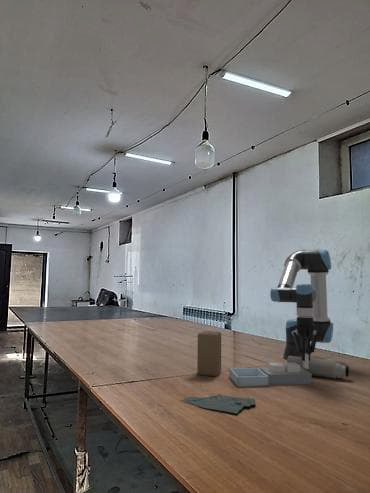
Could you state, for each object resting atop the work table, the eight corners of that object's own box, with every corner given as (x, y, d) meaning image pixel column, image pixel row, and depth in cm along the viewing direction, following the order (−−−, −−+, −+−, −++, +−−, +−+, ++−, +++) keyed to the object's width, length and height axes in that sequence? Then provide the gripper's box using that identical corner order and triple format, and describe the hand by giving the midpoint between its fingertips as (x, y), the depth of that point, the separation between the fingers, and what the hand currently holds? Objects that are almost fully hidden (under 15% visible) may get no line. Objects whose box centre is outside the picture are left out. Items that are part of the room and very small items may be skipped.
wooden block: (221, 372, 184) (221, 331, 186) (216, 377, 175) (216, 334, 177) (202, 370, 187) (202, 330, 189) (196, 375, 178) (197, 333, 180)
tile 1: (280, 369, 173) (280, 362, 173) (285, 372, 167) (285, 365, 167) (268, 369, 172) (268, 362, 173) (272, 372, 166) (272, 365, 167)
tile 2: (294, 368, 174) (294, 362, 174) (300, 372, 168) (300, 365, 168) (282, 369, 173) (282, 362, 173) (287, 372, 167) (287, 365, 167)
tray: (257, 376, 176) (257, 367, 177) (268, 386, 161) (268, 376, 161) (229, 376, 175) (229, 368, 175) (237, 386, 159) (237, 377, 160)
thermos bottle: (290, 373, 188) (349, 382, 172) (285, 369, 182) (346, 377, 167) (292, 358, 191) (350, 365, 176) (288, 353, 186) (347, 360, 170)
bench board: (300, 376, 176) (300, 367, 177) (311, 383, 165) (311, 373, 165) (260, 377, 174) (260, 367, 175) (268, 384, 163) (268, 374, 163)
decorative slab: (204, 422, 120) (204, 416, 120) (176, 400, 142) (176, 394, 142) (270, 412, 130) (270, 406, 130) (234, 392, 152) (234, 387, 152)
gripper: (314, 315, 178) (315, 365, 175) (288, 315, 176) (289, 366, 174) (321, 317, 170) (323, 369, 168) (294, 317, 169) (295, 370, 167)
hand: (305, 367), depth 171 cm, fingers closed
